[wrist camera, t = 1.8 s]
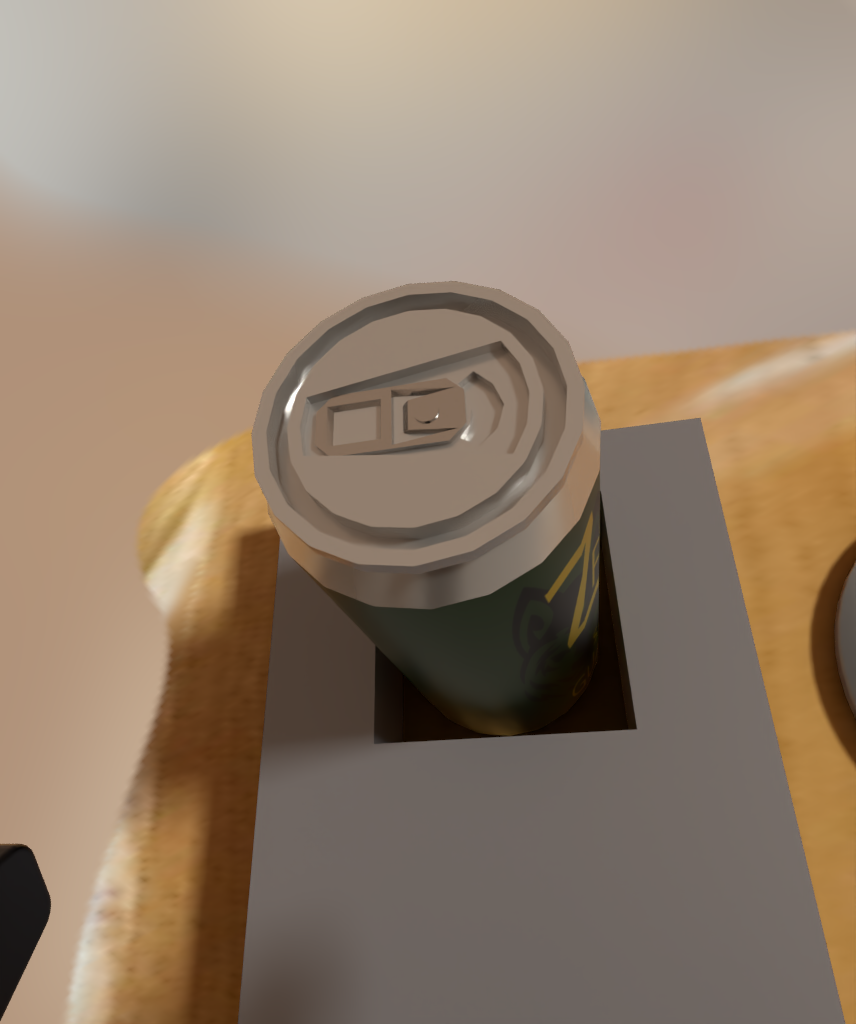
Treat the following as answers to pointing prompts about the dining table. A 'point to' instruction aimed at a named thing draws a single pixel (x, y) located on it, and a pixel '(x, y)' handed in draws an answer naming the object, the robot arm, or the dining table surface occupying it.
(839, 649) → the coaster
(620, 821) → the can dock
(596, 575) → the beer can
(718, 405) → the dining table surface
